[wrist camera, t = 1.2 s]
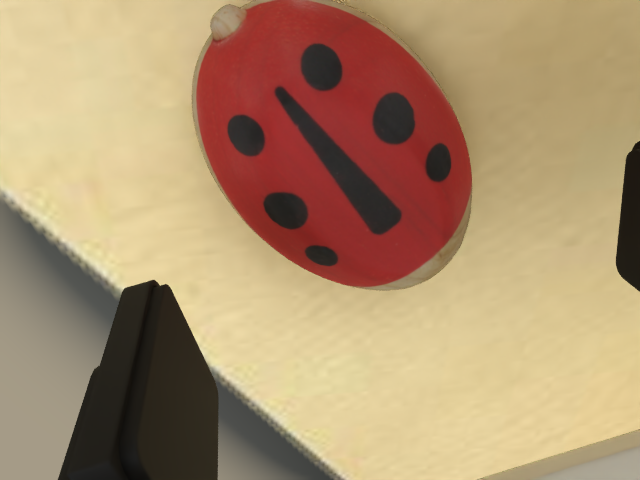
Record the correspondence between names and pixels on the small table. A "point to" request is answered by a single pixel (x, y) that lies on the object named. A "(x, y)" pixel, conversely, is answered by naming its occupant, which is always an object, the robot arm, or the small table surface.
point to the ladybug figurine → (332, 141)
